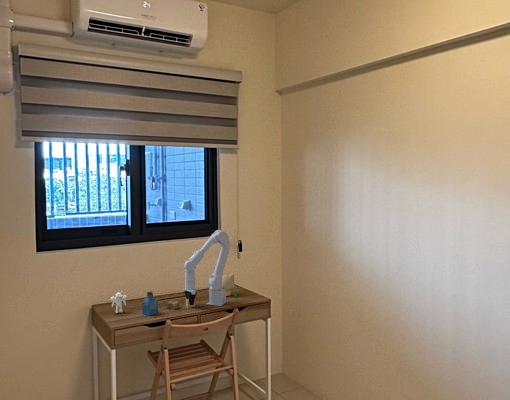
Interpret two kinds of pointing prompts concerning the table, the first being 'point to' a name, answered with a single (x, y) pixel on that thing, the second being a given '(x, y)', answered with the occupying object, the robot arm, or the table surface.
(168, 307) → the slab lower
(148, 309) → the perfume bottle
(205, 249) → the robot arm
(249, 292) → the table surface
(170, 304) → the slab upper
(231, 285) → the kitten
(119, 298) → the hat wearing toy figure
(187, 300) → the block
